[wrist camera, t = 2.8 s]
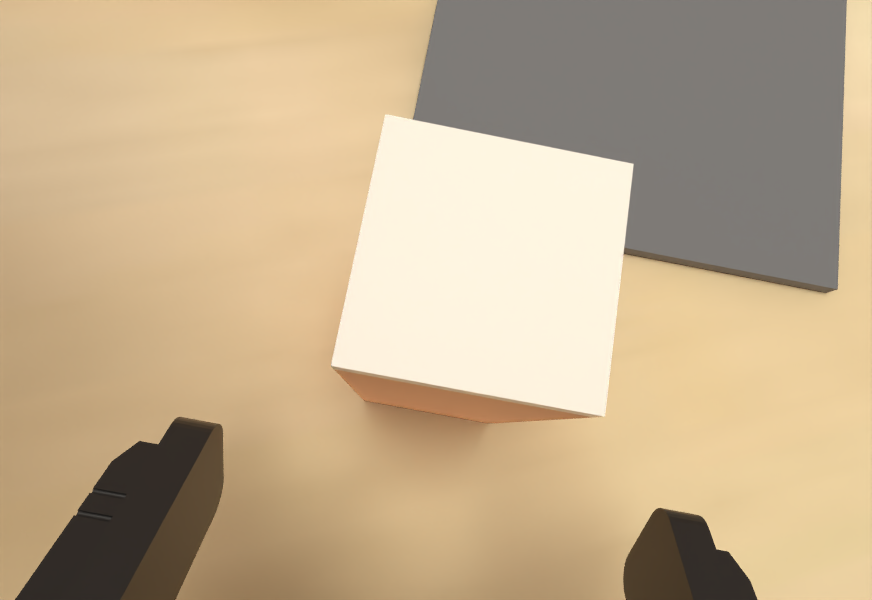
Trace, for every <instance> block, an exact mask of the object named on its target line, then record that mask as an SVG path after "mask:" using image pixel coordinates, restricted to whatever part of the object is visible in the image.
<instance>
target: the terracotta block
mask: <svg viewBox="0 0 872 600" xmlns="http://www.w3.org/2000/svg"><path fill="white" fill-rule="evenodd" d="M633 166H634V164H632V163H627V162H622V161H617V160H612V159H607V158H602V157H597V156H592V155H587V154H582V153H577V152H572V151H567V150H562V149H557V148H552V147H547V146H542V145H537V144H532V143H527V142H522V141H517V140H512V139H507V138H502V137H497V136H492V135H487V134H482V133H477V132H472V131H467V130H462V129H457V128H452V127H447V126H442V125H437V124H432V123H427V122H422V121H417V120H412V119H407V118H402V117H397V116H392V115H387V114H385V119H384V123H383V128H382V132H381V137H380V142H379V146H378V151H377V155H376V160H375V165H374V169H373V174H372V178H371V183H370V188H369V192H368V197H367V202H366V206H365V211H364V215H363V220H362V225H361V229H360V234H359V238H358V243H357V248H356V252H355V257H354V261H353V266H352V271H351V275H350V280H349V284H348V289H347V294H346V298H345V303H344V307H343V312H342V317H341V321H340V326H339V331H338V335H337V340H336V344H335V349H334V354H333V358H332V363H331V366H332V367H333V369H334V370H335V371H336V372H337V373H338V374H339V375H340V376H341V377H342V378H343V379H344V380H345V381H346V382H347V383H348V384H349V385H350V386H351V387H352V388H353V389H354V391H355V392H356V393H357V394H358V395H359V396H360V397H361V398H362V399H363V400H364V401H369V402H375V403H380V404H386V405H391V406H397V407H402V408H408V409H413V410H418V411H424V412H429V413H435V414H440V415H446V416H451V417H456V418H462V419H467V420H473V421H478V422H484V423H504V422H521V421H538V420H556V419H573V418H590V417H605V411H606V403H607V394H608V385H609V376H610V368H611V359H612V350H613V341H614V333H615V324H616V315H617V306H618V297H619V289H620V280H621V271H622V262H623V254H624V245H625V236H626V227H627V218H628V210H629V201H630V192H631V183H632V175H633Z"/></svg>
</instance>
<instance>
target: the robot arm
mask: <svg viewBox="0 0 872 600" xmlns="http://www.w3.org/2000/svg"><path fill="white" fill-rule="evenodd" d="M223 479H224V476H223V429H222V426H221V425H220V424H215V423H210V422H205V421H199V420H194V419H189V418H183V417H178V418H176V419H175V420H174V421H173V423H172V424H171V425H170V427H169V429H168V430H167V432H166V433H165V435H164V436H163V438H162V440H161V441H160V443H159V444H152V443H147V442H142V441H139V442H138V443H136V444H135V445H134V446H132V447H131V448H129V449H128V450H127V451H125V452H124V453H123V454H121V455H120V456H119V457H117V458H116V459H115V460H113V461H112V462H111V463H110V465H109V466H108V468H107V469H106V470H105V472H104V473H103V475H102V476H101V478H100V479H99V480H98V482H97V483H96V485H95V486H94V488H93V492H92V493H89V495H88V496H87V498H86V499H85V500H84V502H83V503H82V505H81V506H80V508H79V509H78V513H77V515H76V516H75V515H74V516H73V518H72V519H71V520H70V522H69V523H68V525H67V526H66V528H65V529H64V531H63V532H62V533H61V535H60V536H59V538H58V539H57V541H56V542H55V543H54V545H53V546H52V548H51V549H50V551H49V552H48V553H47V555H46V556H45V558H44V559H43V561H42V562H41V563H40V565H39V566H38V568H37V569H36V571H35V572H34V573H33V575H32V576H31V578H30V579H29V581H28V582H27V583H26V585H25V586H24V588H23V589H22V591H21V592H20V593H19V595H18V596H17V598H16V599H15V600H175V599H176V597H177V595H178V593H179V590H180V588H181V586H182V584H183V582H184V580H185V578H186V575H187V573H188V571H189V569H190V567H191V565H192V562H193V560H194V558H195V556H196V554H197V552H198V550H199V547H200V545H201V543H202V541H203V539H204V537H205V534H206V532H207V530H208V528H209V526H210V524H211V522H212V519H213V517H214V515H215V513H216V510H217V507H218V504H219V501H220V497H221V493H222V488H223ZM623 583H624V592H625V597H626V600H757V597H756V595H755V592H754V590H753V587H752V584H751V582H750V580H749V579H748V577H747V576H746V575H745V573H744V572H743V571H742V569H741V568H740V567H739V565H738V564H737V563H736V561H735V560H734V559H733V557H732V556H731V555H730V553H729V552H727V551H721V550H716V547H715V545H714V542H713V539H712V536H711V533H710V531H709V528H708V525H707V523H706V521H705V520H704V519H703V518H702V517H701V516H699V515H694V514H689V513H684V512H678V511H673V510H668V509H662V508H658V509H656V510H655V511H654V512H653V513H652V515H651V517H650V518H649V520H648V522H647V524H646V525H645V527H644V529H643V530H642V532H641V534H640V536H639V537H638V539H637V541H636V542H635V544H634V546H633V548H632V549H631V551H630V553H629V554H628V557H627V559H626V562H625V567H624V577H623Z"/></svg>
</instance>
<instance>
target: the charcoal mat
mask: <svg viewBox="0 0 872 600" xmlns="http://www.w3.org/2000/svg"><path fill="white" fill-rule="evenodd" d="M846 4H847V0H438V1H437V6H436V11H435V16H434V21H433V26H432V31H431V35H430V40H429V45H428V50H427V55H426V60H425V65H424V70H423V74H422V79H421V84H420V89H419V94H418V99H417V104H416V108H415V113H414V118H413V120H417V121H422V122H427V123H432V124H437V125H442V126H447V127H452V128H457V129H462V130H467V131H472V132H477V133H482V134H487V135H492V136H497V137H502V138H507V139H512V140H517V141H522V142H527V143H532V144H537V145H542V146H547V147H552V148H557V149H562V150H567V151H572V152H577V153H582V154H587V155H592V156H597V157H602V158H607V159H612V160H617V161H622V162H627V163H632V164H634V166H633V175H632V183H631V192H630V201H629V210H628V218H627V227H626V236H625V245H624V253H625V254H630V255H635V256H640V257H646V258H651V259H656V260H661V261H666V262H671V263H676V264H682V265H687V266H692V267H697V268H702V269H707V270H712V271H717V272H723V273H728V274H733V275H738V276H743V277H748V278H753V279H759V280H764V281H769V282H774V283H779V284H784V285H789V286H794V287H800V288H805V289H810V290H815V291H820V292H825V293H827V292H830V291H834V290H837V289H838V261H839V229H840V196H841V164H842V132H843V100H844V68H845V36H846Z"/></svg>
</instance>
